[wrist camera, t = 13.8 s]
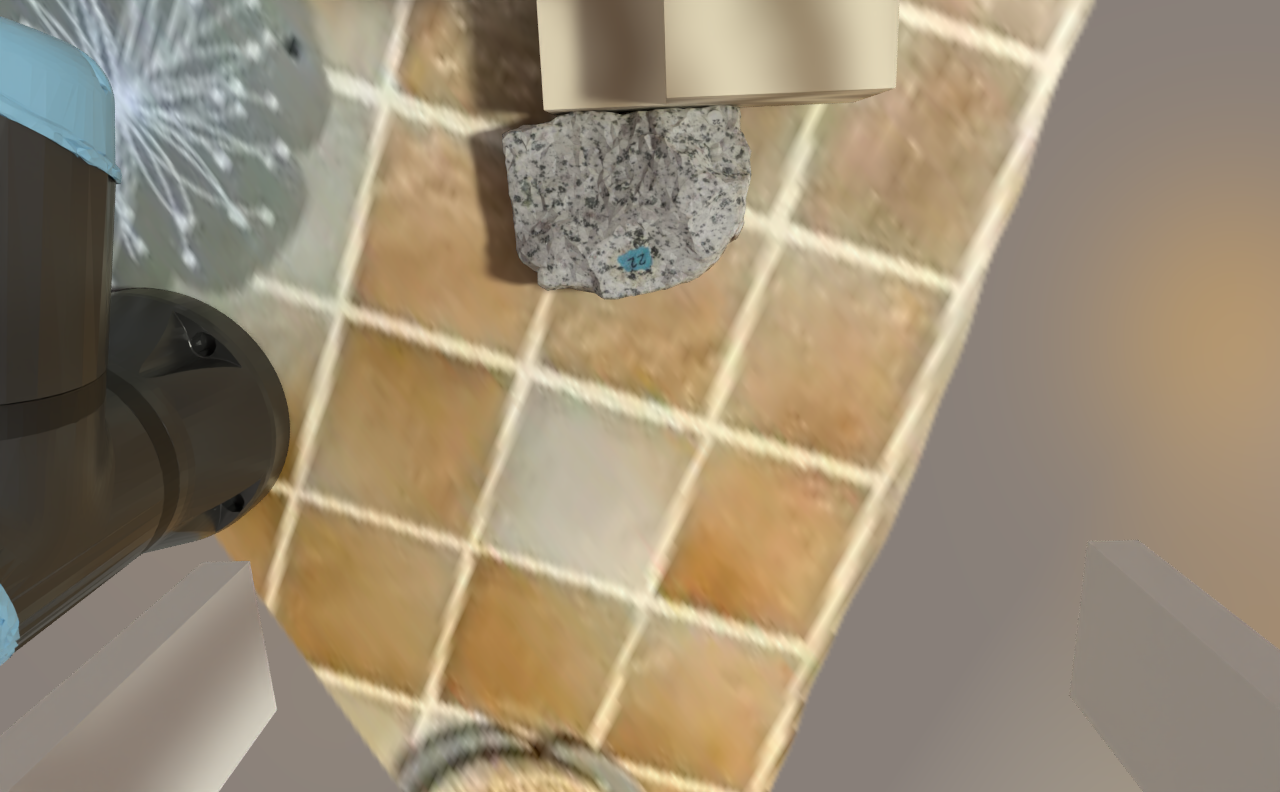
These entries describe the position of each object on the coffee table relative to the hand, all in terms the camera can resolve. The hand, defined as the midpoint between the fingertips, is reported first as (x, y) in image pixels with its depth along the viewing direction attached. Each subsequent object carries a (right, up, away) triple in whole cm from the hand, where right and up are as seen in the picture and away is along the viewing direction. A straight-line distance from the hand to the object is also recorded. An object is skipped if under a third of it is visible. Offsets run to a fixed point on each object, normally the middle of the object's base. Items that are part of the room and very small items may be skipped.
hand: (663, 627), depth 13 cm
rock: (-1, +15, +33) cm, 36 cm away
